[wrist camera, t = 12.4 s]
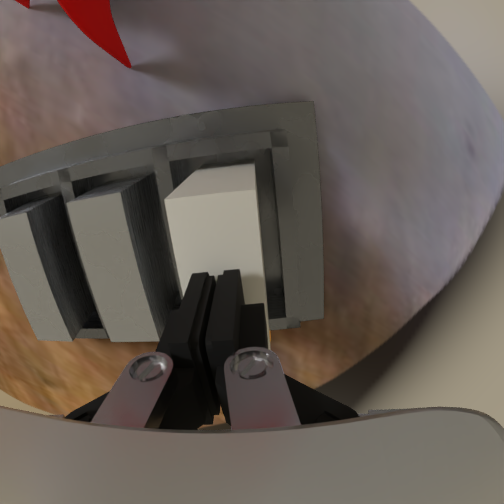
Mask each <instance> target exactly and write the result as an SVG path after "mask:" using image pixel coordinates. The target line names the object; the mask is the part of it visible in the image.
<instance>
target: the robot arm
mask: <svg viewBox="0 0 504 504" xmlns="http://www.w3.org/2000/svg"><path fill="white" fill-rule="evenodd" d="M220 405H221V408H222V411H223V414H224V416H225V420H226V423H228V424H229V425H230V426H231V428H232V430H198V428H199V427H200V426H202V425H209V424H213V419H214V415H219V413H220ZM0 504H504V428H503V427H502V426H501V425H500V424H499V423H498V422H497V421H496V420H495V419H493V418H492V417H490V416H489V415H487V414H485V413H482V412H480V411H476V410H472V409H466V408H456V407H427V408H413V409H391V410H390V409H389V410H368V414H357V413H356V411H354V410H353V409H351V408H350V407H348V406H346V405H344V404H342V403H340V402H338V401H336V400H334V399H332V398H330V397H328V396H326V395H324V394H322V393H319V392H318V391H316V390H314V389H312V388H310V387H308V386H306V385H304V384H302V383H300V382H298V381H296V380H294V379H293V378H291V377H289V376H287V375H285V374H284V373H283V370H282V367H281V364H280V361H279V358H278V357H277V355H276V354H275V353H274V352H272V351H271V350H269V349H268V336H267V325H266V316H265V307H264V303H256V304H245V301H244V294H243V287H242V280H241V273H240V269H233V270H224V272H223V275H218V278H217V283H216V281H215V277H214V275H213V276H209V273H208V272H201V273H192V275H191V277H190V280H189V283H188V286H187V288H186V291H185V294H184V297H183V299H182V302H181V305H180V308H179V310H172V311H171V312H170V315H169V317H168V320H167V322H166V325H165V328H164V330H163V333H162V336H161V338H160V341H159V344H158V346H157V349H156V352H148V353H143V354H141V355H139V356H136V357H135V358H134V359H132V360H131V361H130V362H129V363H128V364H127V365H126V367H125V368H124V370H123V372H122V373H121V375H120V376H119V378H118V379H117V381H116V382H115V384H114V386H113V387H112V389H111V390H110V391H109V392H108V393H106V394H104V395H102V396H100V397H98V398H97V399H95V400H93V401H91V402H89V403H87V404H85V405H84V406H82V407H80V408H78V409H76V410H74V411H73V412H71V413H70V414H68V415H67V416H66V417H65V416H64V415H43V414H38V413H32V412H28V411H23V410H18V409H13V408H8V407H4V406H0Z"/></svg>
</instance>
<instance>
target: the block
mask: <svg viewBox="0 0 504 504" xmlns="http://www.w3.org/2000/svg"><path fill="white" fill-rule="evenodd" d="M164 201H165V207H166V213H167V218H168V224H169V229H170V235H171V240H172V245H173V250H174V255H175V260H176V265H177V270H178V275H179V279H180V284H181V288H182V293H183V297H184V294H185V291H186V288H187V286H188V283H189V280H190V277H191V275H192V273H201V272H208V273H209V276H213V275H214V277H215V281H216V283H217V278H218V275H223V272H224V270H233V269H240V273H241V280H242V287H243V294H244V301H245V304H256V303H264V307H265V316H266V325H267V336H268V349H269V350H271V349H270V335H269V320H268V306H267V293H266V280H265V269H264V258H263V247H262V236H261V225H260V214H259V203H258V193H257V182H256V172H255V162H254V160H247V161H237V162H227V163H218V164H210V165H202V166H200V167H199V168H198V169H197V170H196V171H194V172H193V173H192V174H191V175H190V176H189V177H188V178H187V179H186V180H185V181H184V182H182V183H181V184H180V185H179V186H178V187H177V188H176V189H175V190H174V191H173V192H172V193H171V194H170V195H169V196H168V197H166V198H165V199H164Z"/></svg>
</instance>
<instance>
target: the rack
mask: <svg viewBox="0 0 504 504" xmlns="http://www.w3.org/2000/svg"><path fill="white" fill-rule="evenodd" d="M247 160H254V162H255V172H256V182H257V193H258V203H259V214H260V225H261V236H262V247H263V258H264V269H265V280H266V293H267V306H268V320H269V335H270V341H271V331H270V330H279V329H288V328H298V327H300V321H308V320H317V319H324V267H323V230H322V206H321V187H320V171H319V157H318V144H317V132H316V121H315V110H314V101H309V102H291V103H278V104H266V105H255V106H246V107H237V108H229V109H222V110H214V111H208V112H201V113H195V114H189V115H183V116H177V117H172V118H167V119H161V120H156V121H152V122H147V123H142V124H138V125H133V126H129V127H125V128H121V129H116V130H112V131H108V132H105V133H101V134H97V135H93V136H90V137H86V138H83V139H79V140H76V141H72V142H69V143H66V144H63V145H60V146H56V147H53V148H50V149H47V150H44V151H41V152H38V153H35V154H33V155H30V156H27V157H24V158H22V159H19V160H16V161H14V162H11V163H8V164H6V165H3V166H1V167H0V248H1V251H2V254H3V257H4V260H5V263H6V266H7V269H8V271H9V274H10V277H11V279H12V282H13V285H14V287H15V290H16V292H17V295H18V297H19V300H20V302H21V304H22V307H23V309H24V311H25V314H26V316H27V318H28V320H29V322H30V325H31V327H32V329H33V331H34V333H35V335H36V337H37V339H38V340H47V341H73V340H74V339H75V338H110V340H111V342H148V341H160V338H161V336H162V333H163V330H164V328H165V325H166V322H167V320H168V317H169V315H170V312H171V311H172V310H179V308H180V305H181V302H182V299H183V293H182V288H181V284H180V279H179V275H178V270H177V265H176V260H175V255H174V250H173V245H172V240H171V235H170V229H169V224H168V218H167V213H166V207H165V201H164V199H165V198H166V197H168V196H169V195H170V194H171V193H172V192H173V191H174V190H175V189H176V188H177V187H178V186H179V185H180V184H181V183H182V182H184V181H185V180H186V179H187V178H188V177H189V176H190V175H191V174H192V173H193V172H194V171H196V170H197V169H198V168H199V167H200V166H202V165H210V164H218V163H227V162H237V161H247Z"/></svg>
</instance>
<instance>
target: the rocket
mask: <svg viewBox="0 0 504 504" xmlns="http://www.w3.org/2000/svg"><path fill="white" fill-rule="evenodd" d="M15 1H17V2H18V3H20V4H22V5H23V6H25V7H26V8H29V4H30V0H15ZM57 1H58V2H59V4H60V5H61V7H62V8H63V10H64V11H65V12H66V14H67V15H68V16H69V17H70V19H71V20H72V21H73V22H74V23H75V24H76V25H77V26H78V28H79V29H80V30H81V31H82V32H83V33H84V34H85V35H86V36H87V37H89V38H90V39H91V40H92V41H93V42H94V43H96V44H97V45H98V46H99V47H101V48H102V49H103V50H105V51H106V52H107V53H109V54H110V55H112V56H113V57H114V58H116V59H117V60H118V61H120V62H121V63H122V64H124V65H125V66H126V67H128V68H131V63H130V61H129V58H128V56H127V54H126V51H125V49H124V46H123V44H122V41H121V39H120V37H119V34H118V32H117V29H116V27H115V24H114V21H113V18H112V14H111V9H110V0H57Z"/></svg>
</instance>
